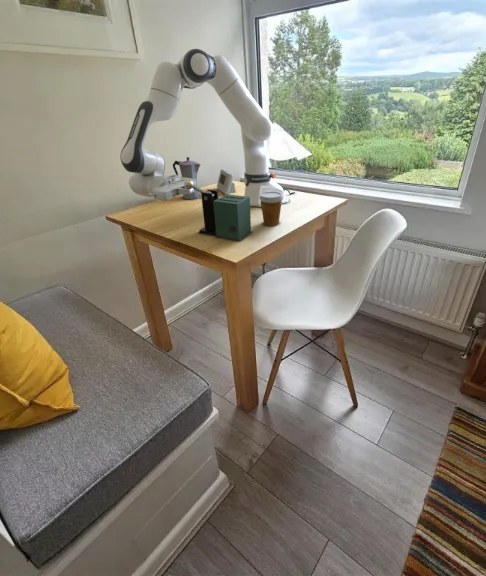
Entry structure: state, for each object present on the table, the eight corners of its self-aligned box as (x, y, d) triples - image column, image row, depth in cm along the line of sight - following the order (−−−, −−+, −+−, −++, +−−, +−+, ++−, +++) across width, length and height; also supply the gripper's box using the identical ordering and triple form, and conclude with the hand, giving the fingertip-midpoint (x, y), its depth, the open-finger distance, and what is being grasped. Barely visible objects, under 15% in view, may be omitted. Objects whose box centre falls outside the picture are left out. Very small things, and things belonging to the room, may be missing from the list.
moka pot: (201, 200, 165) (196, 159, 155) (173, 199, 168) (166, 158, 157) (207, 195, 173) (203, 155, 162) (180, 194, 176) (174, 155, 165)
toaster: (214, 237, 123) (211, 201, 116) (228, 228, 131) (226, 193, 123) (238, 242, 119) (235, 204, 112) (251, 232, 127) (249, 196, 120)
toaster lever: (181, 187, 124) (183, 178, 121) (187, 185, 126) (188, 176, 124) (209, 203, 121) (211, 195, 119) (214, 200, 124) (216, 192, 122)
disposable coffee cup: (287, 222, 135) (288, 194, 128) (271, 229, 129) (271, 199, 123) (270, 217, 141) (270, 189, 134) (255, 223, 135) (254, 194, 129)
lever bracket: (199, 233, 128) (194, 192, 119) (210, 226, 134) (206, 187, 125) (216, 236, 125) (212, 195, 116) (227, 229, 131) (224, 189, 122)
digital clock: (216, 188, 185) (215, 168, 179) (232, 186, 186) (231, 167, 181) (219, 195, 171) (217, 175, 166) (236, 194, 173) (235, 173, 167)
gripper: (144, 186, 120) (173, 189, 115) (178, 174, 136) (205, 176, 130) (147, 202, 124) (176, 206, 118) (180, 189, 139) (207, 192, 134)
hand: (191, 191), depth 125 cm, fingers closed, pressing on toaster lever
